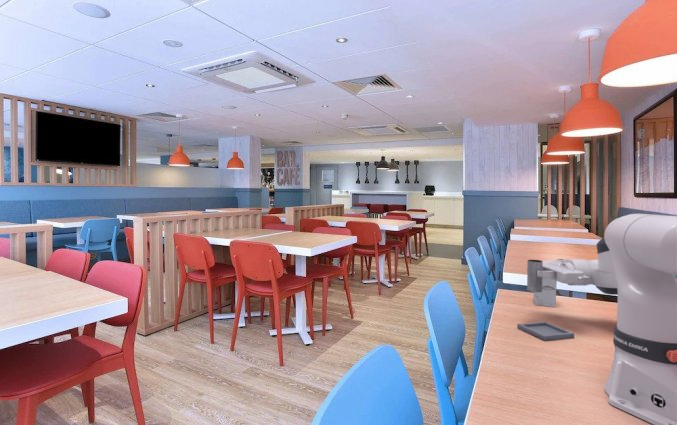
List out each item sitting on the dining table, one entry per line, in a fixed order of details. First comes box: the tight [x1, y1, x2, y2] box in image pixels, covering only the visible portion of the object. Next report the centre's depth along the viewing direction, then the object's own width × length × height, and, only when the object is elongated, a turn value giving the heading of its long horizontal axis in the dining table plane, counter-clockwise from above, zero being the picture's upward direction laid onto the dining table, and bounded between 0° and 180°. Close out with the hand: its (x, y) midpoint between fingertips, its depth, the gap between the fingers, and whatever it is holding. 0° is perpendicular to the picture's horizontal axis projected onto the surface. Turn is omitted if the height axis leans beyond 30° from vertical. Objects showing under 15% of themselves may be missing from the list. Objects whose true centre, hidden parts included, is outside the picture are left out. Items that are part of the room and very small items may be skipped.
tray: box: [516, 321, 575, 342], centre depth 116 cm, size 11×11×2 cm
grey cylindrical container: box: [526, 259, 544, 293], centre depth 125 cm, size 4×4×10 cm
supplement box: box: [532, 277, 558, 308], centre depth 148 cm, size 7×7×13 cm
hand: (532, 271), depth 125 cm, fingers closed on grey cylindrical container, 4 cm apart
